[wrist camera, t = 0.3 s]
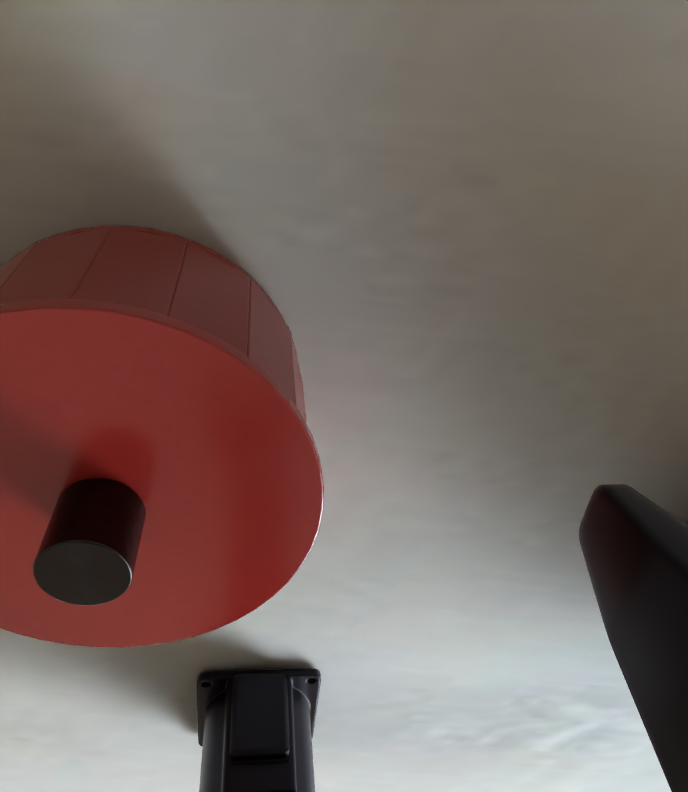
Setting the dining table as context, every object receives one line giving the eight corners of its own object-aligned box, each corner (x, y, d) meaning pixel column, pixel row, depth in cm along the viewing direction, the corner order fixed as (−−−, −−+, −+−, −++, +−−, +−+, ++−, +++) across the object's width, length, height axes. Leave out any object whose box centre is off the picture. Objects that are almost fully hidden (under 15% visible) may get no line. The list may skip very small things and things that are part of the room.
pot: (323, 469, 27) (338, 590, 22) (49, 522, 27) (-2, 656, 22) (259, 193, 21) (259, 270, 15) (-102, 262, 21) (-228, 364, 15)
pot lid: (349, 582, 23) (362, 671, 20) (-2, 649, 23) (-41, 749, 20) (271, 243, 16) (273, 305, 13) (-239, 340, 16) (-352, 425, 13)
